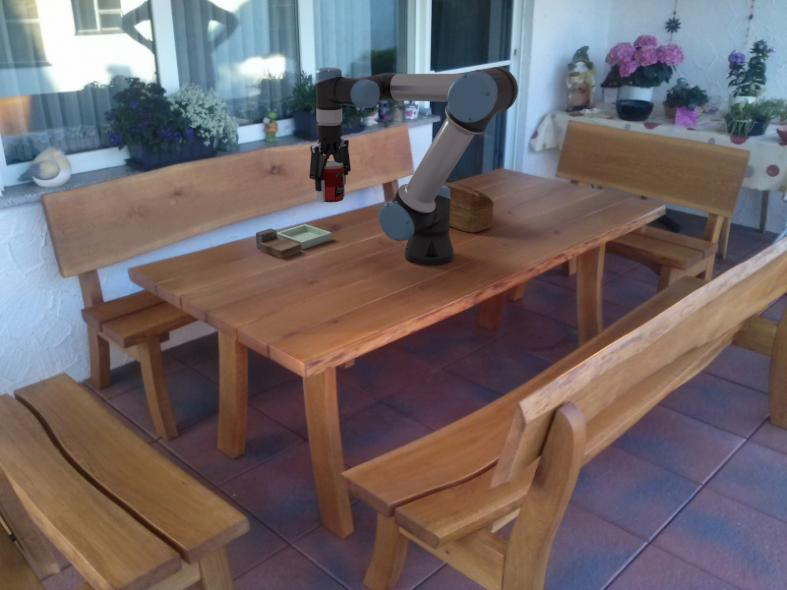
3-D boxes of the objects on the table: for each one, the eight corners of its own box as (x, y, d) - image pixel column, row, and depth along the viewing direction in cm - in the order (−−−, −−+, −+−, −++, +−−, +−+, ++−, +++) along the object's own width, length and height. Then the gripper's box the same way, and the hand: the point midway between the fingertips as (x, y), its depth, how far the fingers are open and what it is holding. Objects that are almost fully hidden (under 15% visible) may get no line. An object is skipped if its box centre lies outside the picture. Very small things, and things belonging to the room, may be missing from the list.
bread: (474, 237, 250) (476, 198, 245) (409, 216, 270) (409, 179, 265) (497, 229, 258) (500, 191, 252) (432, 209, 278) (433, 173, 273)
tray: (331, 239, 246) (331, 232, 245) (302, 249, 237) (301, 242, 236) (305, 230, 254) (305, 223, 253) (275, 240, 245) (275, 233, 244)
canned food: (340, 203, 225) (339, 167, 221) (314, 201, 227) (313, 165, 222) (346, 196, 232) (346, 161, 228) (321, 194, 233) (321, 159, 229)
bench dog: (277, 245, 241) (276, 230, 239) (262, 249, 237) (261, 234, 235) (271, 242, 243) (270, 228, 241) (256, 247, 239) (255, 232, 237)
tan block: (301, 253, 236) (300, 244, 235) (282, 260, 230) (281, 250, 229) (279, 245, 242) (279, 237, 241) (260, 252, 236) (260, 243, 235)
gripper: (345, 116, 229) (346, 189, 239) (294, 126, 215) (297, 202, 225) (363, 120, 225) (363, 193, 234) (312, 129, 211) (314, 208, 220)
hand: (330, 198), depth 229 cm, fingers closed on canned food, 8 cm apart
